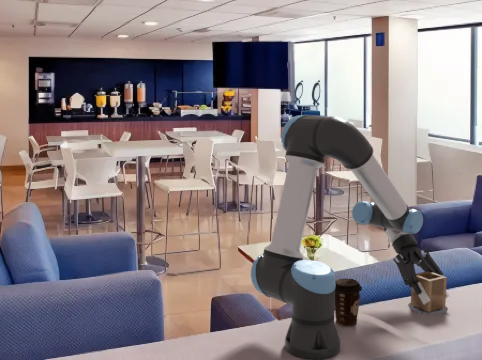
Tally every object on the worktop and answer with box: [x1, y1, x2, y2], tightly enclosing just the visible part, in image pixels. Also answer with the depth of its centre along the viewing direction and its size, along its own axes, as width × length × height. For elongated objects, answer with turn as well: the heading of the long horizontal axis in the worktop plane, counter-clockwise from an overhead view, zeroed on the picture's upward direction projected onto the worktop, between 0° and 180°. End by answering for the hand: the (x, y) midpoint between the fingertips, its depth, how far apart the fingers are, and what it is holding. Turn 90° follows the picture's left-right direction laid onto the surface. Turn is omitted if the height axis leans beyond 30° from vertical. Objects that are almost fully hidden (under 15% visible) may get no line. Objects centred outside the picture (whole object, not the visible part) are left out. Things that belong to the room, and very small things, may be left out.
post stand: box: [407, 302, 449, 315], centre depth 189 cm, size 12×12×9 cm
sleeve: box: [410, 271, 448, 312], centre depth 189 cm, size 7×7×10 cm
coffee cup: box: [334, 278, 363, 327], centre depth 181 cm, size 9×8×13 cm
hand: (436, 300), depth 186 cm, fingers closed on sleeve, 7 cm apart
